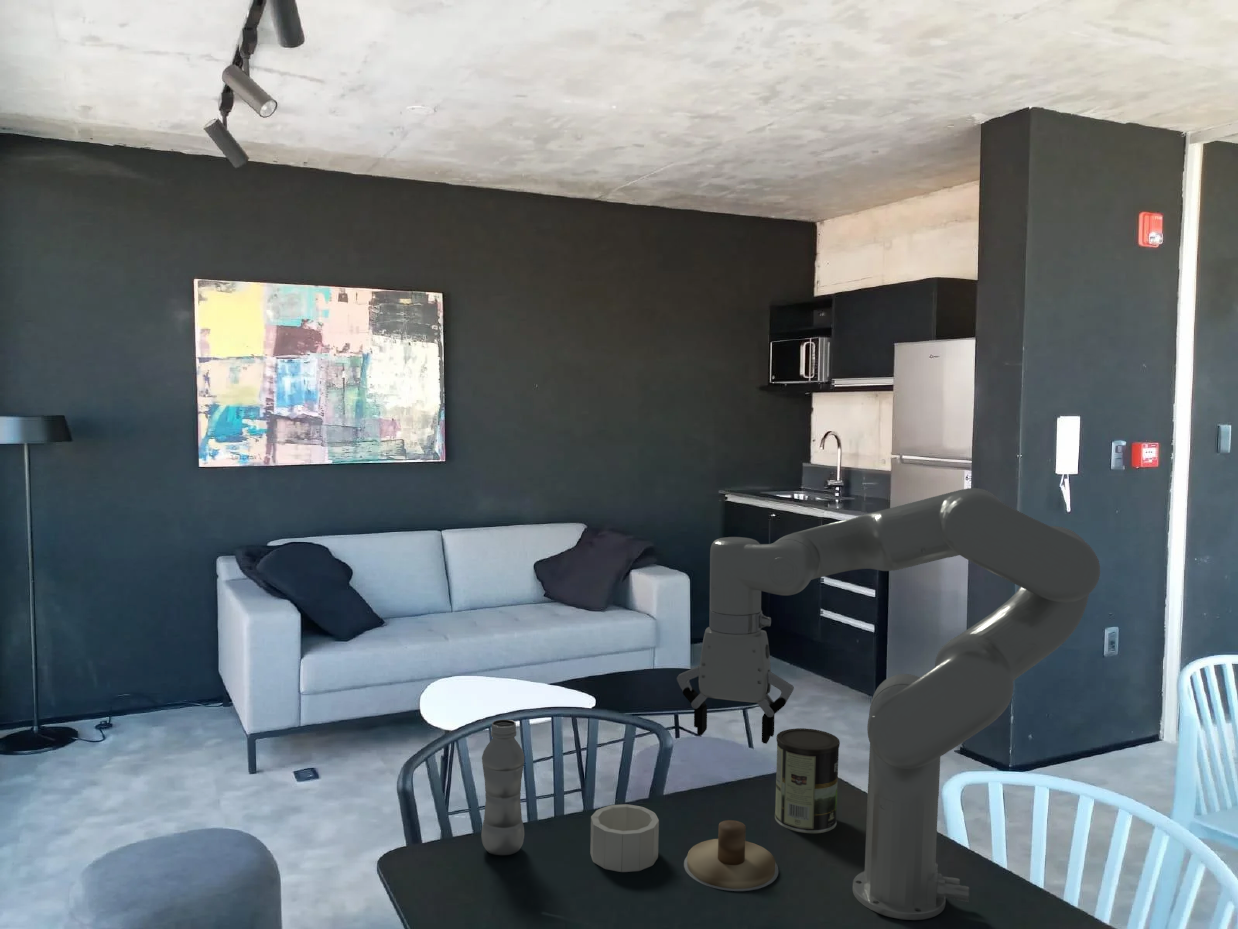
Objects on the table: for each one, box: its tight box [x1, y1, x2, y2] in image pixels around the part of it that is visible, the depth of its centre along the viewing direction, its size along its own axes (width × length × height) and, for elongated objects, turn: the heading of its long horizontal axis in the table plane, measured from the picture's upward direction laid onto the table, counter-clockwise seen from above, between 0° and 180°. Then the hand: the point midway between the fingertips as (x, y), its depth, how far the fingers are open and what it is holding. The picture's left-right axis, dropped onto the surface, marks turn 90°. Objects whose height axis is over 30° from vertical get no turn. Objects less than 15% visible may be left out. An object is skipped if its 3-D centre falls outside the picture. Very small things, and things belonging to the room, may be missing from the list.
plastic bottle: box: [480, 718, 525, 856], centre depth 146 cm, size 6×7×20 cm
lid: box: [686, 819, 776, 889], centre depth 142 cm, size 13×13×6 cm
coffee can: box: [774, 727, 841, 834], centre depth 159 cm, size 10×10×14 cm
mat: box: [683, 856, 779, 892], centre depth 143 cm, size 14×14×1 cm
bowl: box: [589, 803, 660, 873], centre depth 145 cm, size 10×10×6 cm
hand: (733, 736), depth 141 cm, fingers open, 9 cm apart
